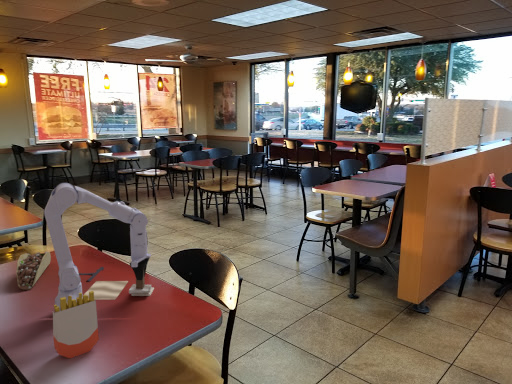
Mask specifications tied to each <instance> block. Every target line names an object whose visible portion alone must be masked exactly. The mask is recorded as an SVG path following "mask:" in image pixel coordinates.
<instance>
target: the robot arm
mask: <svg viewBox="0 0 512 384" xmlns="http://www.w3.org/2000/svg"><path fill="white" fill-rule="evenodd" d="M75 203H77V204H78V205H82V204H85V203H87V204H90V205H92V206H95V207H97V208H100V209H101V210H104V211H106V212H108V214H109V215H108V216H109V217H112V218H114V219H116V220H118V221H120V222H123V223H126V224H130V225H129V228H130V229H129V230H130V231H129V236H130V237H129V238H130V253H131V254H130V259H131V261H130V262H129V266H130V268H131V269H132V270H133V273H134V276H135V280H136V279H137V280H143V275H144V277H146V274H147V266H148V262H149V260H150V258H151V257H152V254H151V253H148V237H147V234H148V233H147V225H148V222H149V220H148V218H147V216H146V215H145V214H144V213H143V212H142V211H141V210H140V209H138V208H136V207H131V206H129V205H126V203H125V202H124V201H121V200H120V201H118V200H116V201H114V202H111V201H109V200H108V199H106V198H103V197H101V196H99V195H97V194H95V193H93V192H91V191H89V190H88V189H85V188H82V187H80V186H78V185H77V186H76V185H73V184H71V183H68V182H61V183H59V184H58V185H56V187H54V189H53V190H52V191H51V193H50V196H49V199H48V201H47V204H46V205H45V208H44V218H45V221H46V224H47V228H48V232H49V237H50V240H51V243H52V247H53V249H54V250H53V251H54V254H55V258H56V260H57V266H58V272H57V274H58V277H59V285H58V293H57V294H56V295H57V296H56V297H55V298H54V305H57V306H59V308H60V298H63V297H65V298H66V302H67V301H68V296H72V300H73V299H75V300H76V298H77V297H79V293H82V299H83V295H84V294H83V285H82V282H81V275H79V273H80V272H79V268H78V267H77V265H75V263H74V262H73V257H72V254H71V249H70V246H69V242H68V238H67V235H66V231H65V228H64V224H63V220H62V215H63V214H64V212H65V211H66V210H67V209H69V208H70V207H71V206H73V205H75ZM76 303H77V300H76ZM67 304H68V302H67ZM60 311H61V310H60Z"/></svg>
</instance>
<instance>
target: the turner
mask: <svg viewBox="0 0 512 384" xmlns="http://www.w3.org/2000/svg"><path fill="white" fill-rule="evenodd" d="M145 277H146V276H145ZM145 277H144V275H143V280H137V279H136V278H135V283H133V284H132V285H131V286H130V288H129V289H128V294H149V292H150V290H151V287H152V284H146V283H145Z"/></svg>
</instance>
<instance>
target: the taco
mask: <svg viewBox="0 0 512 384" xmlns="http://www.w3.org/2000/svg"><path fill="white" fill-rule="evenodd" d="M51 260H52V257H51V252H50V251H48V250H47V251H45V252H44V253H40V252H36V253H34V254H30V253H22V254H20V255H19V257H18V260H17V262H16V271H15V274H16V279H17V287H18V288H19V289H21V290H23V291H24V290H25V291H27V290H30V289H32V288H33V287H34V285H35V284H36V283H37V282H38V280H39V279H40V277H41V276H42V274H43V273H44V272H45V270H46V269H47V268H48V266H49V265H50V263H51Z"/></svg>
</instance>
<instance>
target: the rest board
mask: <svg viewBox="0 0 512 384" xmlns="http://www.w3.org/2000/svg"><path fill="white" fill-rule="evenodd" d="M128 283H129V281H128V280H95V282H94V283H93V284H92V285H91V286H90V287H89V289H87V291H86V292H84V294H83V295H88V299H89V292H90V291H93V292H94V299H95V300H97V301H98V300H103V301H104V300H110V301H111V300H116V299H117V298H118V296H119V295H120V294H121V293H122V291H123V290H124V288H125V287H126V285H127V284H128Z"/></svg>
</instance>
